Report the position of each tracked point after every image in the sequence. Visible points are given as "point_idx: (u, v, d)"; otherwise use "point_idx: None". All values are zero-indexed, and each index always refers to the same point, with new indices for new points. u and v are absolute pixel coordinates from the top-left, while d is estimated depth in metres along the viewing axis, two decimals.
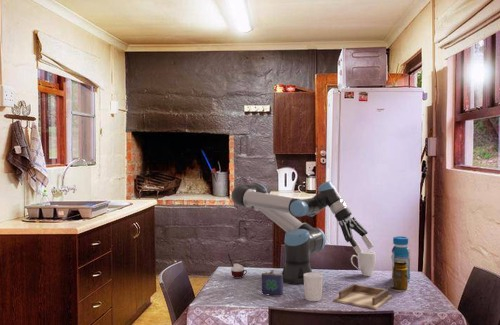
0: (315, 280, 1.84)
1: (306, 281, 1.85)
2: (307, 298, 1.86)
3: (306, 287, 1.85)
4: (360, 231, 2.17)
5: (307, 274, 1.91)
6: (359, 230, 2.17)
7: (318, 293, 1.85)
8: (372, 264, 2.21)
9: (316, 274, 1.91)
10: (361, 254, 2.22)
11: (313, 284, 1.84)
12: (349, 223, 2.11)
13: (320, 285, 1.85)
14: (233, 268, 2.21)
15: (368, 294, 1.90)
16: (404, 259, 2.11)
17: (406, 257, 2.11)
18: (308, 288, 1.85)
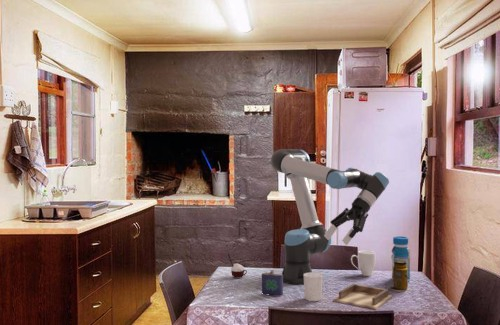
0: (315, 280, 1.84)
1: (306, 281, 1.85)
2: (307, 298, 1.86)
3: (306, 287, 1.85)
4: (340, 223, 1.99)
5: (307, 274, 1.91)
6: (341, 222, 1.99)
7: (318, 293, 1.85)
8: (372, 264, 2.21)
9: (316, 274, 1.91)
10: (361, 254, 2.22)
11: (313, 284, 1.84)
12: (360, 219, 1.93)
13: (320, 285, 1.85)
14: (233, 268, 2.21)
15: (368, 294, 1.90)
16: (404, 259, 2.11)
17: (406, 257, 2.11)
18: (308, 288, 1.85)
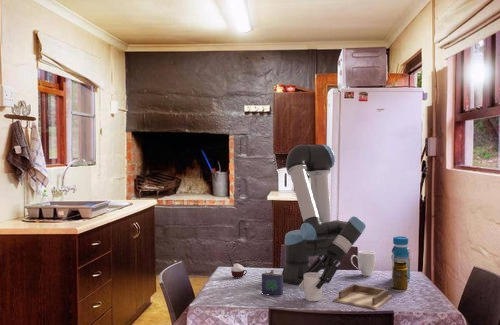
0: (315, 280, 1.84)
1: (306, 281, 1.85)
2: (307, 298, 1.86)
3: (306, 287, 1.85)
4: (316, 271, 1.92)
5: (307, 274, 1.91)
6: (317, 270, 1.92)
7: (318, 293, 1.85)
8: (372, 264, 2.21)
9: (316, 274, 1.91)
10: (361, 254, 2.22)
11: (313, 284, 1.84)
12: None
13: None
14: (233, 268, 2.21)
15: (368, 294, 1.90)
16: (404, 259, 2.11)
17: (406, 257, 2.11)
18: (308, 288, 1.85)
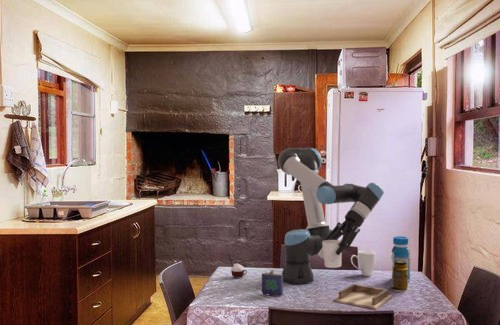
0: (334, 246, 1.82)
1: (325, 248, 1.83)
2: (327, 265, 1.84)
3: (325, 254, 1.83)
4: (334, 239, 1.90)
5: (326, 242, 1.88)
6: (336, 238, 1.90)
7: (338, 259, 1.82)
8: (372, 264, 2.21)
9: (335, 242, 1.88)
10: (361, 254, 2.22)
11: (332, 250, 1.82)
12: None
13: None
14: (233, 268, 2.21)
15: (368, 294, 1.90)
16: (404, 259, 2.11)
17: (406, 257, 2.11)
18: (327, 255, 1.83)
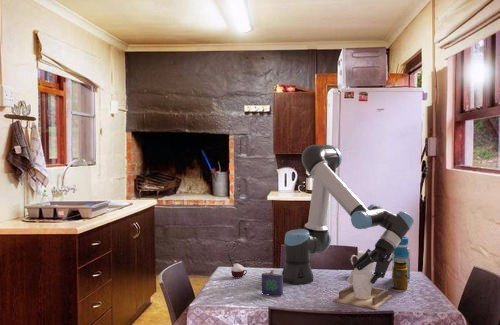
0: (365, 278, 1.83)
1: (356, 279, 1.84)
2: (357, 296, 1.85)
3: (355, 285, 1.85)
4: (363, 266, 1.92)
5: (355, 272, 1.90)
6: (365, 265, 1.92)
7: (368, 291, 1.84)
8: (372, 264, 2.21)
9: (365, 272, 1.90)
10: (361, 254, 2.22)
11: (363, 281, 1.83)
12: None
13: None
14: (233, 268, 2.21)
15: None
16: (404, 259, 2.11)
17: (406, 257, 2.11)
18: (358, 286, 1.84)
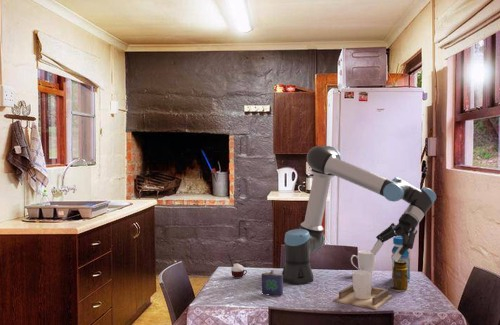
0: (365, 278, 1.83)
1: (356, 279, 1.84)
2: (357, 296, 1.85)
3: (355, 285, 1.85)
4: (386, 238, 1.98)
5: (355, 272, 1.90)
6: (388, 238, 1.98)
7: (368, 291, 1.84)
8: (372, 264, 2.21)
9: (365, 272, 1.90)
10: (361, 254, 2.22)
11: (363, 281, 1.83)
12: (408, 235, 1.92)
13: (370, 283, 1.84)
14: (233, 268, 2.21)
15: None
16: (404, 259, 2.11)
17: (406, 257, 2.11)
18: (358, 286, 1.84)
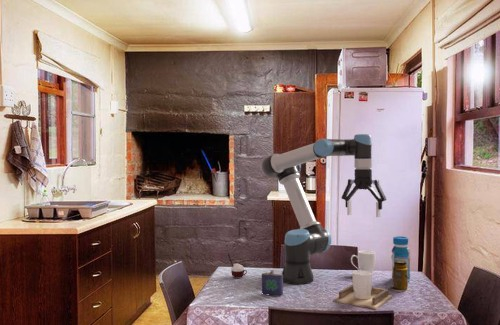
0: (365, 278, 1.83)
1: (356, 279, 1.84)
2: (357, 296, 1.85)
3: (355, 285, 1.85)
4: (352, 195, 2.08)
5: (355, 272, 1.90)
6: (353, 194, 2.08)
7: (368, 291, 1.84)
8: (372, 264, 2.21)
9: (365, 272, 1.90)
10: (361, 254, 2.22)
11: (363, 282, 1.83)
12: (370, 185, 2.04)
13: (370, 283, 1.84)
14: (233, 268, 2.21)
15: None
16: (404, 259, 2.11)
17: (406, 257, 2.11)
18: (358, 286, 1.84)
